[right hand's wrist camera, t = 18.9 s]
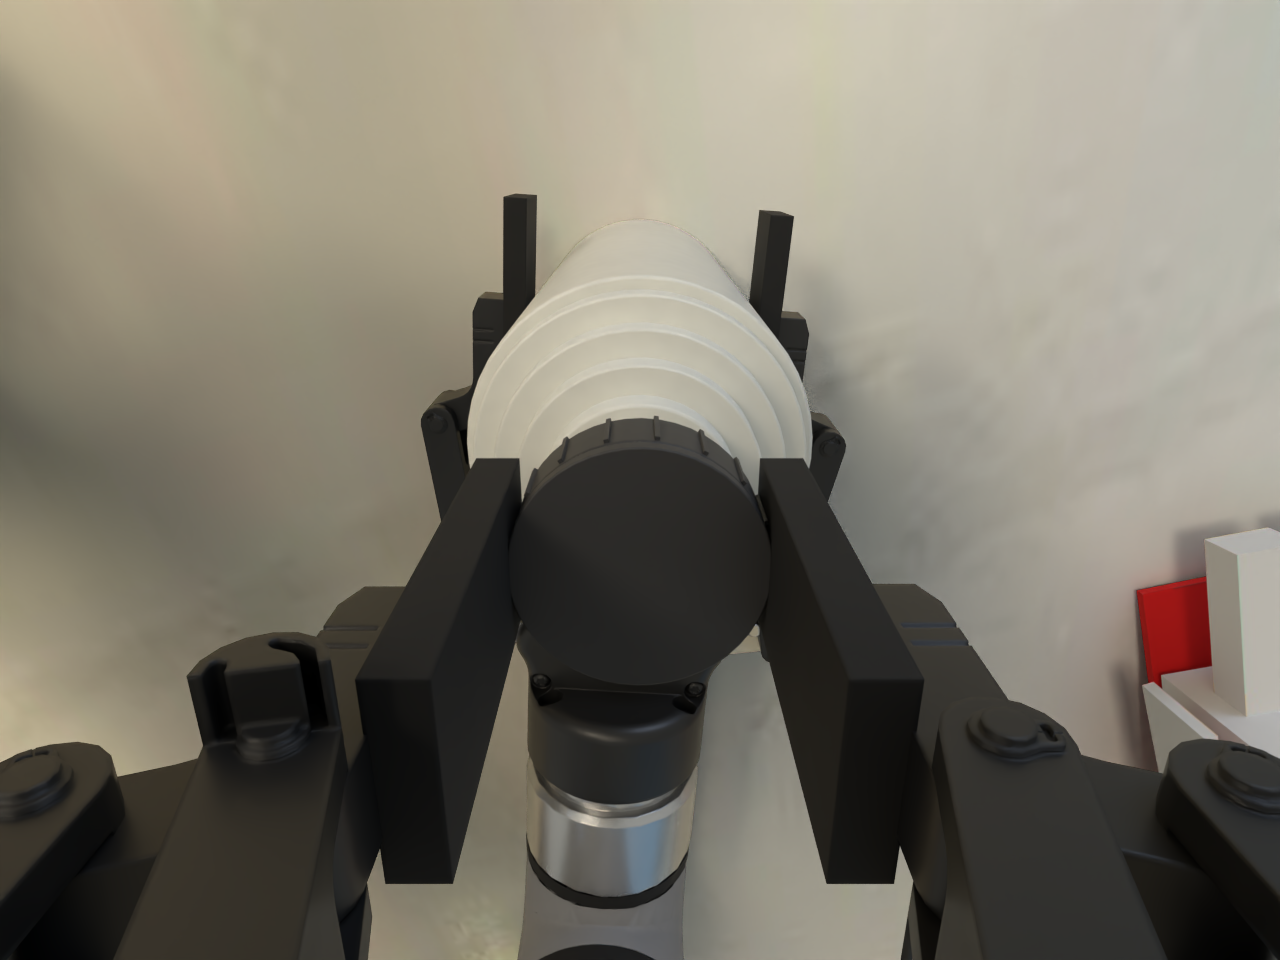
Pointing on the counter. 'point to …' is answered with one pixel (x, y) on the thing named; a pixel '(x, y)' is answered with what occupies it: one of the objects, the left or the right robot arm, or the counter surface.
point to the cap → (639, 553)
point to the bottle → (639, 356)
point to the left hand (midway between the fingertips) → (648, 205)
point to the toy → (1216, 648)
